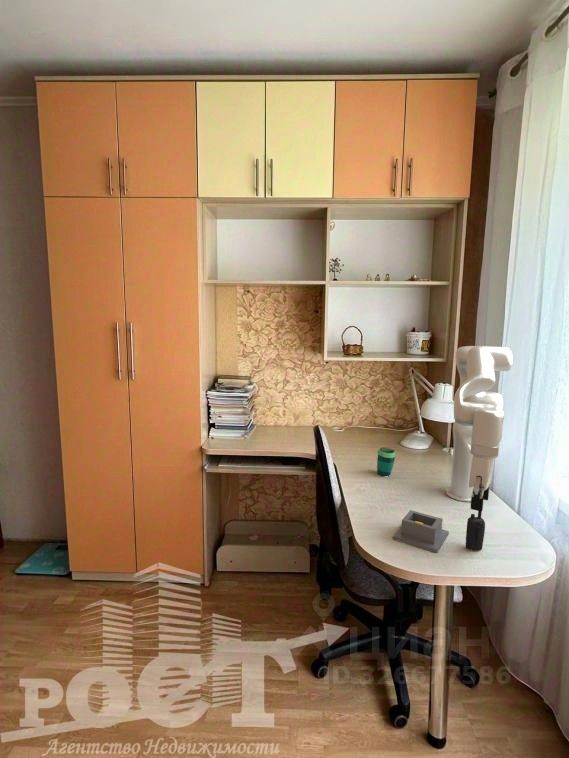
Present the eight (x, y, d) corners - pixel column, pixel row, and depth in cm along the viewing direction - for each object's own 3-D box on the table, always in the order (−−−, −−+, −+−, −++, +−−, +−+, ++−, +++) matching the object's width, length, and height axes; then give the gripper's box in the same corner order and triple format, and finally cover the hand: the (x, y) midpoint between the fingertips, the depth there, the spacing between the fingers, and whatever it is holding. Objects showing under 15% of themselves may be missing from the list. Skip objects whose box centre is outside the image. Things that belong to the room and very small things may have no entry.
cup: (388, 471, 198) (390, 445, 196) (398, 477, 190) (400, 451, 189) (372, 472, 196) (374, 447, 194) (382, 479, 188) (383, 453, 186)
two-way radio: (478, 545, 136) (483, 500, 134) (487, 552, 132) (492, 506, 130) (462, 546, 136) (466, 501, 133) (470, 554, 131) (475, 507, 129)
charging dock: (406, 521, 151) (408, 504, 150) (448, 534, 143) (450, 515, 142) (392, 539, 139) (393, 520, 138) (437, 553, 131) (438, 533, 130)
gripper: (476, 441, 138) (471, 492, 140) (464, 454, 124) (460, 511, 126) (502, 445, 134) (497, 498, 136) (493, 459, 119) (488, 518, 122)
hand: (479, 504), depth 131 cm, fingers open, 9 cm apart
